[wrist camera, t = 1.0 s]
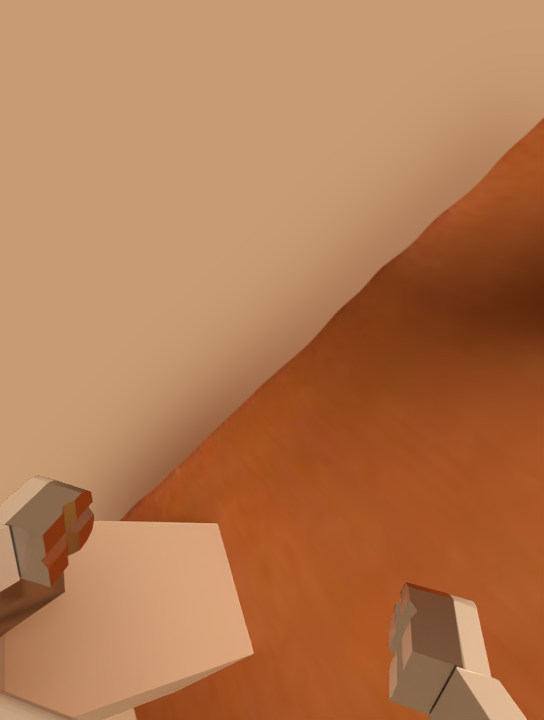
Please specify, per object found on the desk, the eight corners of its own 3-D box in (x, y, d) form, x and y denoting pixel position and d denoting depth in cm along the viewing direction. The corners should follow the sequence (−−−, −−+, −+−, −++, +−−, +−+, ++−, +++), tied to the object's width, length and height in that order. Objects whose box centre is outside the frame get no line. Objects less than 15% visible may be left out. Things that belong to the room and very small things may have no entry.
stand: (219, 517, 53) (-8, 509, 33) (259, 657, 44) (-14, 757, 25) (150, 562, 57) (-87, 579, 37) (175, 697, 49) (-115, 811, 29)
